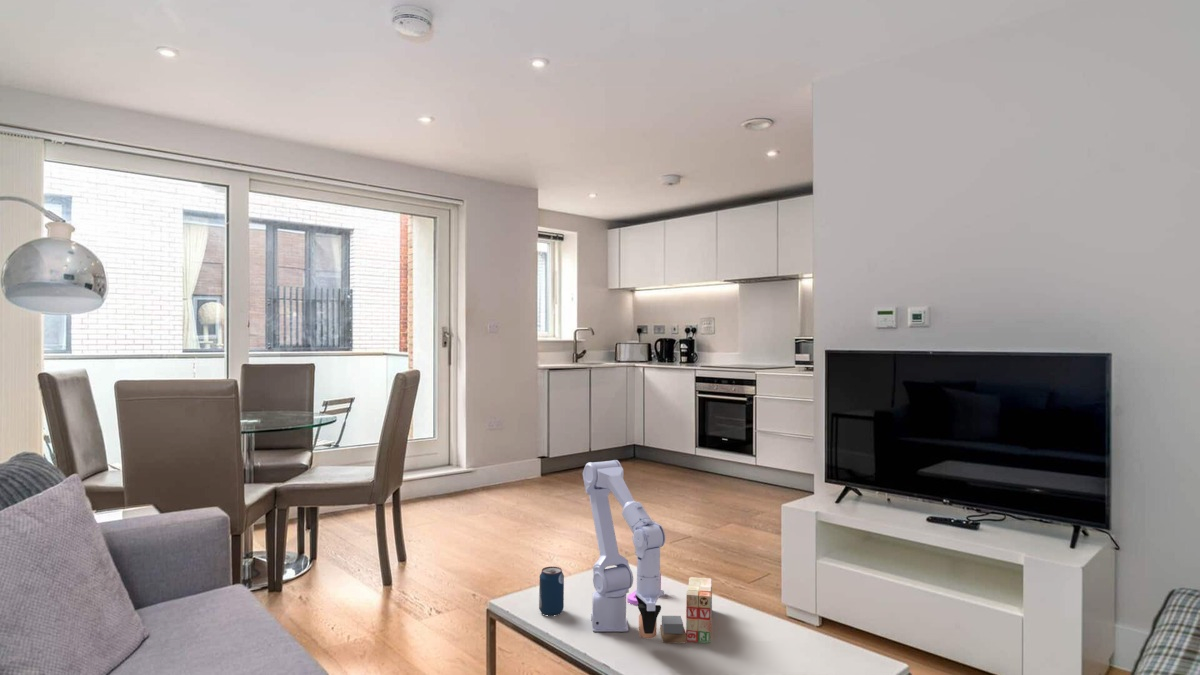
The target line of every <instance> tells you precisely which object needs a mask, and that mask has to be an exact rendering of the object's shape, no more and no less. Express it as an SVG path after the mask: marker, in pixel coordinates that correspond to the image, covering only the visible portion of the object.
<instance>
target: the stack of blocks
mask: <svg viewBox="0 0 1200 675" xmlns="http://www.w3.org/2000/svg"><path fill="white" fill-rule="evenodd" d="M712 602H713V583H712V578H710V577H695V576H691V577H688V586H687V590H686V602H685V603H686V604H685V605H686V607H685V608H686V609H685V610H686V612H685V614H686V615H685V618H686V627H685V632H686V642H693V643H703V644H711V637H712V618H713V616H712V615H713V614H712V613H713V603H712Z"/></svg>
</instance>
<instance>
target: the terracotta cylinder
mask: <svg viewBox="0 0 1200 675" xmlns="http://www.w3.org/2000/svg"><path fill="white" fill-rule="evenodd" d="M657 619H658V618H657ZM657 619H656V623H655V628H654V632H653V634H645V633H644V628H643V621H642V616H641V613H639V615H638V635H639V637H641V638H642V639H643V638H644V639H654V638H655V637H657V630H658V629H657V626H658V624H657V623H658V622H657V621H658V620H657Z"/></svg>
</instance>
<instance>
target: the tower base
mask: <svg viewBox="0 0 1200 675" xmlns="http://www.w3.org/2000/svg"><path fill="white" fill-rule="evenodd" d="M659 628H660V629H659V630H660V632H659V634H660V636H661V641H662V644H687V641H686V628H685V626H684V625H683V634H664V633H663V629H662V624H660V626H659Z"/></svg>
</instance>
